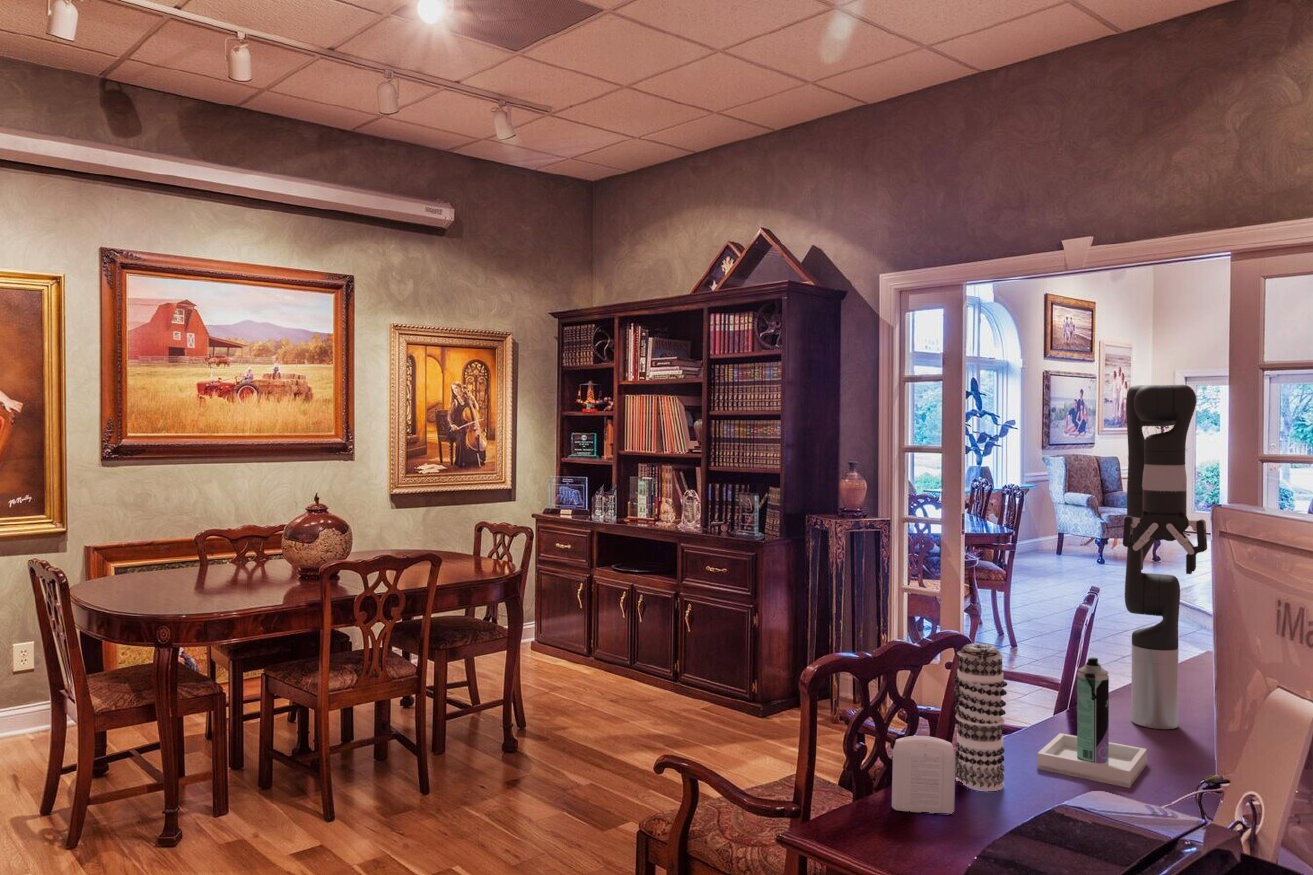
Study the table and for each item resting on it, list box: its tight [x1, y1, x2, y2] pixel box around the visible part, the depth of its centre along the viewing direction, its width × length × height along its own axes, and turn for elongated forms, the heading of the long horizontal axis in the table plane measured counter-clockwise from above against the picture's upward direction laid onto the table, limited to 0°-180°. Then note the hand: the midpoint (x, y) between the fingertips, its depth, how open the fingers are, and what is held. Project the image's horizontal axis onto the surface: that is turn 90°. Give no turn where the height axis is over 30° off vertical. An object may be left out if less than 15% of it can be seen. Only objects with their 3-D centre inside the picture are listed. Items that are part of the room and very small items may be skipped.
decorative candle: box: [953, 643, 1008, 792], centre depth 173 cm, size 9×9×25 cm
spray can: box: [1076, 657, 1110, 765], centre depth 182 cm, size 6×6×20 cm
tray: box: [1036, 732, 1148, 789], centre depth 182 cm, size 16×16×3 cm
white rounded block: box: [891, 735, 956, 815], centre depth 160 cm, size 10×4×12 cm, turn 81°
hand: (1164, 571), depth 184 cm, fingers open, 8 cm apart
